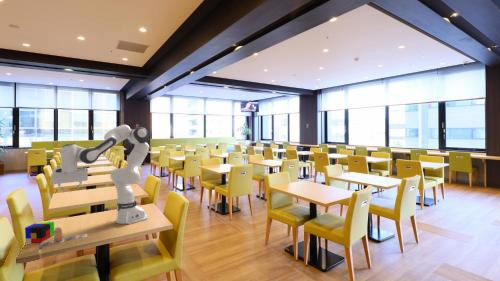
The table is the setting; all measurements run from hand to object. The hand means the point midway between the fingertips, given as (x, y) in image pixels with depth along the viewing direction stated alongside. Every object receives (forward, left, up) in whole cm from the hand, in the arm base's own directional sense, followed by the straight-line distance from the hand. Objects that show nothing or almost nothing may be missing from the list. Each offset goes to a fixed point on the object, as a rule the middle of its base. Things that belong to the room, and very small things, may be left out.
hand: (70, 189), depth 175 cm
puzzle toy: (+16, +3, -29) cm, 34 cm away
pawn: (+8, +15, -28) cm, 33 cm away
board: (+5, +15, -29) cm, 33 cm away
